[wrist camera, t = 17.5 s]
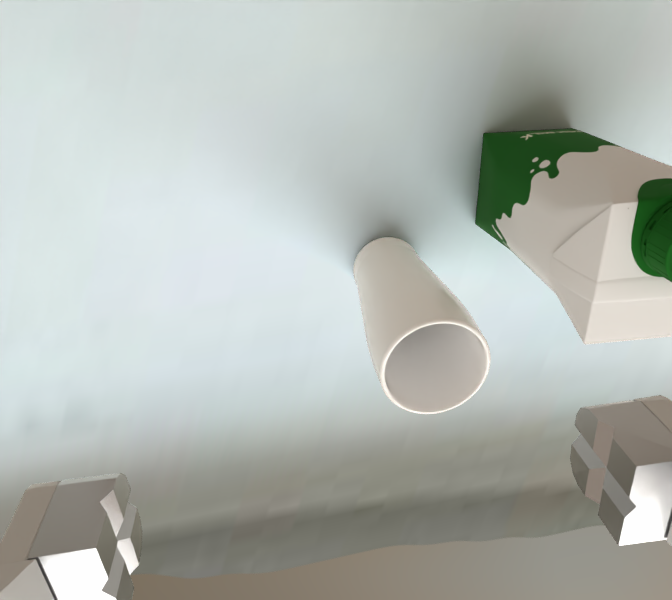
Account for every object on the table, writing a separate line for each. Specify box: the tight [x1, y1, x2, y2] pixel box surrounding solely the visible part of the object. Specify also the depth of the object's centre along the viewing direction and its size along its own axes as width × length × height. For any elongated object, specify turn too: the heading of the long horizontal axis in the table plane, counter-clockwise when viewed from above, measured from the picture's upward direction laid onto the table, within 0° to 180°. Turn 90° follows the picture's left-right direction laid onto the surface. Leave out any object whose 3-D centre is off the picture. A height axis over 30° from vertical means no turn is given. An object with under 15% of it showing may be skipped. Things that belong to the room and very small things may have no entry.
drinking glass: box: [353, 237, 491, 414], centre depth 40 cm, size 7×7×15 cm
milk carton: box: [475, 128, 672, 344], centre depth 36 cm, size 9×9×20 cm
